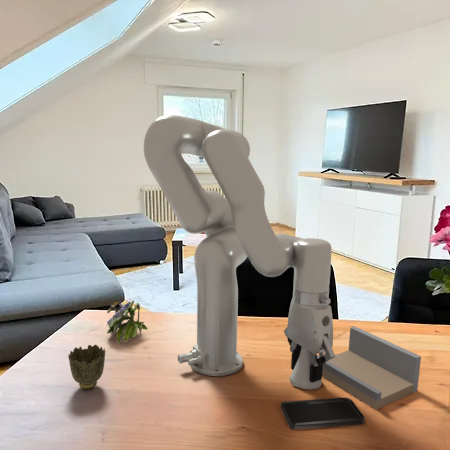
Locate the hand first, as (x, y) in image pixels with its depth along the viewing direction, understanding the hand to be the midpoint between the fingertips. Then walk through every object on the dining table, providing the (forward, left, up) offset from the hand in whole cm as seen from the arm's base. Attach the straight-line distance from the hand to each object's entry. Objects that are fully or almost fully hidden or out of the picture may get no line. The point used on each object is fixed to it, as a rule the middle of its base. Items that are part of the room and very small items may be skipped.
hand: (306, 373), depth 94 cm
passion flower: (-26, +43, -2) cm, 50 cm away
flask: (0, 0, -2) cm, 2 cm away
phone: (-5, -10, -3) cm, 12 cm away
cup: (-42, +22, -2) cm, 47 cm away
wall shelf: (+11, -6, -2) cm, 13 cm away
